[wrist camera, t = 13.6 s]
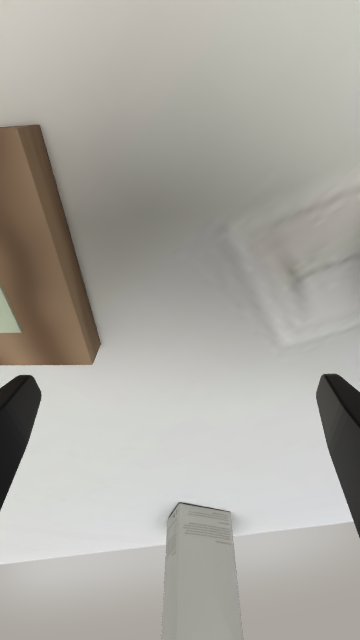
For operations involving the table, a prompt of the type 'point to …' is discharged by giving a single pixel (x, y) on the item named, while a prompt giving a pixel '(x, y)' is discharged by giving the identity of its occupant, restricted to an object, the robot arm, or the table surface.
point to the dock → (38, 263)
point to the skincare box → (200, 577)
